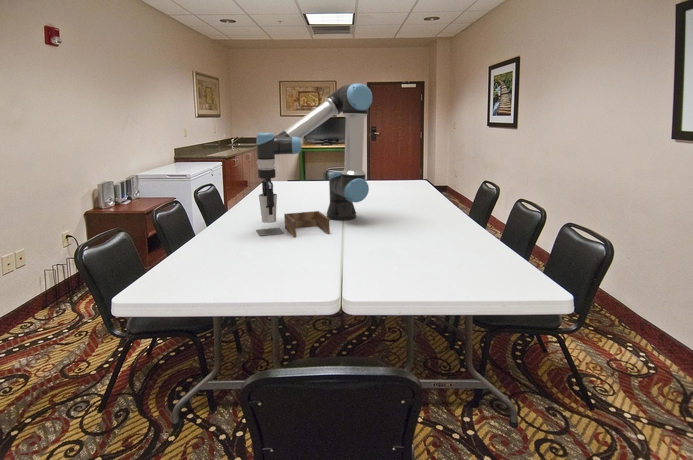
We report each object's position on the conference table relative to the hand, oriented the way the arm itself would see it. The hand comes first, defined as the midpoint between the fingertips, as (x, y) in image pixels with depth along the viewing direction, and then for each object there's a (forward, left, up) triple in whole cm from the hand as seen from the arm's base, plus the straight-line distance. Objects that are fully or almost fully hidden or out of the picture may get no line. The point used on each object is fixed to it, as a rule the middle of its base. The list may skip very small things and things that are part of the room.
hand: (269, 219), depth 213 cm
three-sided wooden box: (-16, +5, -6) cm, 18 cm away
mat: (0, 0, -6) cm, 6 cm away
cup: (0, 0, -1) cm, 1 cm away
